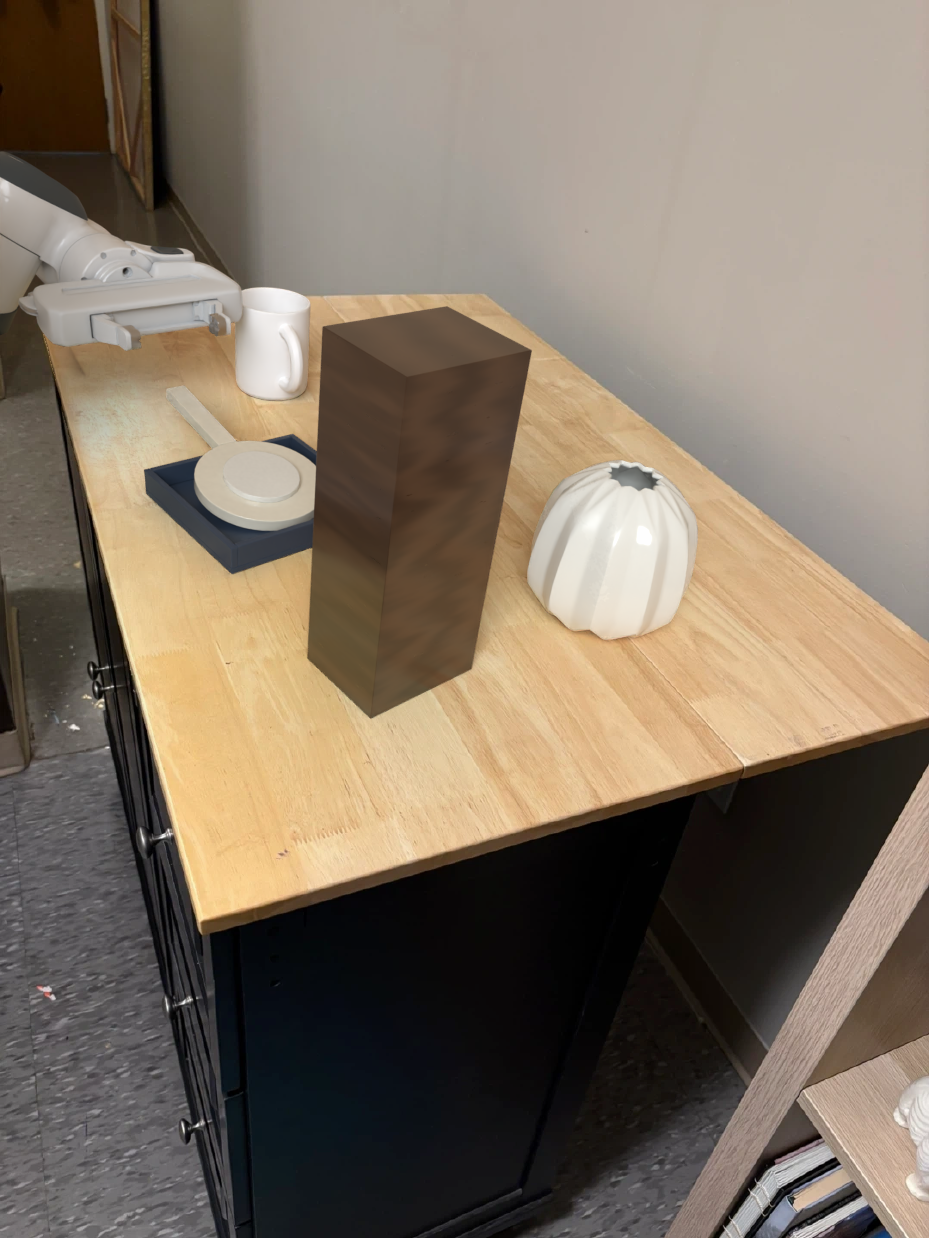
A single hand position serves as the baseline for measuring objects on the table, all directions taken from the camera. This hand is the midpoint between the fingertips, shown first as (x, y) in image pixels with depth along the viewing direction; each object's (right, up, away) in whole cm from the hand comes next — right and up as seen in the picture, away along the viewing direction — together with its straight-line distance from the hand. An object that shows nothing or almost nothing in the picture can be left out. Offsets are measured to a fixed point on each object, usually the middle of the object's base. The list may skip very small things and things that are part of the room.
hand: (180, 335), depth 87 cm
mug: (+5, -1, +19) cm, 20 cm away
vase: (+39, -26, -7) cm, 47 cm away
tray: (+8, -17, -1) cm, 19 cm away
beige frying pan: (+5, -12, 0) cm, 13 cm away
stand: (+21, -31, -17) cm, 41 cm away
